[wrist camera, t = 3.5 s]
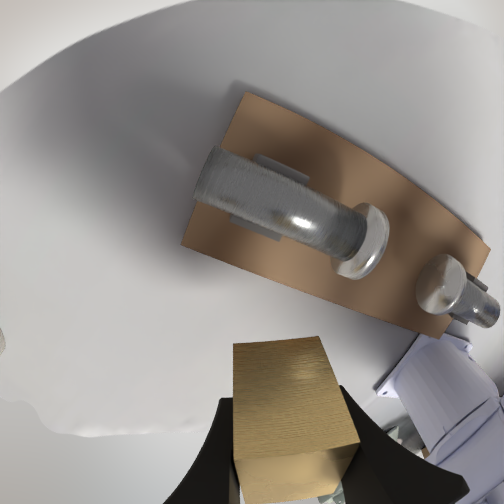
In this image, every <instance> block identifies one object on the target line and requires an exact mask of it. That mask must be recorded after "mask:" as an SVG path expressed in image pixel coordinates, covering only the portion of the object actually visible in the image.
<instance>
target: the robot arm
mask: <svg viewBox="0 0 504 504" xmlns="http://www.w3.org/2000/svg"><path fill="white" fill-rule="evenodd" d="M472 346H473V345H472V344H471V343H470V342H467V341H465V340H462V339H459V338H457V337H454V336H451V335H449V334H446V333H443V335H442V336H441V338H440V339H439V340H438V339H435V338H432V337H430V336H427V335H424V334H420V335H419V336H418V338H417V339H416V341H415V342H414V343H413V345H412V346H411V348H410V349H409V350H408V352H407V353H406V354H405V356H404V357H403V358H402V359H401V361H400V362H399V363H398V365H397V366H396V367H395V368H394V370H393V371H392V372H391V373H390V375H389V376H388V377H387V378H386V379H385V381H384V382H383V383H382V384H381V385H380V386H379V388H378V389H377V390H376V394H377V396H383V397H393V398H400V400H401V402H402V403H403V405H404V407H405V409H406V410H407V412H408V414H409V416H410V418H411V419H412V421H413V423H414V425H415V427H416V429H417V430H418V432H419V434H420V436H421V438H422V440H423V442H424V443H425V445H426V447H427V449H428V451H429V453H430V455H429V456H428V457H427V458H426V459H425V460H424V459H422V458H420V457H419V456H417V455H415V454H413V453H412V452H410V451H409V450H407V449H406V448H404V447H403V446H402V445H400V444H399V443H397V442H396V441H395V440H394V439H392V438H391V437H390V436H389V435H388V434H387V433H385V432H384V431H383V430H382V429H381V428H380V427H379V426H378V425H377V424H376V423H375V422H374V421H373V420H372V419H371V418H370V417H369V416H368V415H367V414H366V413H365V412H364V411H363V410H362V409H361V408H360V406H359V405H358V404H357V403H356V402H355V401H354V400H353V398H352V397H351V396H350V395H349V393H348V392H347V391H346V390H345V388H344V387H343V386H342V385H339V387H340V390H341V392H342V395H343V397H344V400H345V403H346V405H347V408H348V410H349V413H350V415H351V418H352V421H353V423H354V426H355V429H356V431H357V434H358V437H359V439H360V444H359V446H358V448H357V450H356V452H355V454H354V456H353V458H352V460H351V462H350V464H349V466H348V468H347V470H346V472H345V474H344V475H343V477H342V479H341V483H342V488H343V493H344V498H345V503H346V504H504V395H503V397H499V393H498V389H497V387H496V385H495V383H494V382H493V381H492V380H491V378H490V377H489V376H488V375H487V374H486V373H485V371H484V370H483V369H482V368H481V367H480V366H479V365H478V364H477V362H476V361H475V360H474V359H473V358H472V357H471V356H470V355H469V354H468V353H469V351H470V350H471V349H472ZM163 504H240V482H239V479H238V475H237V471H236V467H235V463H234V445H233V397H232V398H221V399H220V400H219V404H218V408H217V411H216V414H215V417H214V420H213V423H212V426H211V428H210V431H209V433H208V435H207V438H206V440H205V442H204V444H203V447H202V448H201V450H200V452H199V454H198V456H197V458H196V460H195V461H194V463H193V465H192V466H191V468H190V469H189V471H188V473H187V474H186V475H185V477H184V478H183V480H182V481H181V482H180V484H179V485H178V487H177V488H176V489H175V490H174V492H173V493H172V494H171V495H170V496H169V497H168V499H167V500H166V501H165V502H164V503H163Z"/></svg>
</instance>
